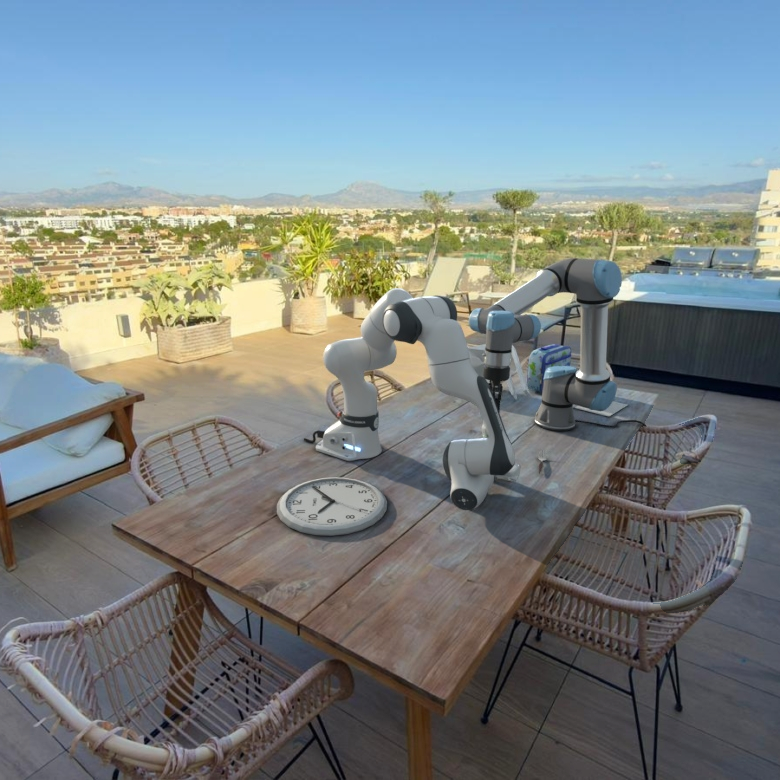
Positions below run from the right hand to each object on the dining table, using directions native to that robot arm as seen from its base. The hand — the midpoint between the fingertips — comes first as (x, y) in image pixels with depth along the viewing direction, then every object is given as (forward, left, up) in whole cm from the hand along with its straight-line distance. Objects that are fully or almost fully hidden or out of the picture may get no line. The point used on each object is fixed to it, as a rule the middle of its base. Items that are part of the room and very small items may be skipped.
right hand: (491, 439), depth 158 cm
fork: (-18, -11, -12) cm, 24 cm away
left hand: (0, -1, -6) cm, 6 cm away
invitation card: (-53, -75, -12) cm, 92 cm away
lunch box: (-34, -98, -12) cm, 104 cm away
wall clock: (+43, +24, -12) cm, 51 cm away
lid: (0, 0, +4) cm, 4 cm away
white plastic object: (-1, -86, -12) cm, 87 cm away
